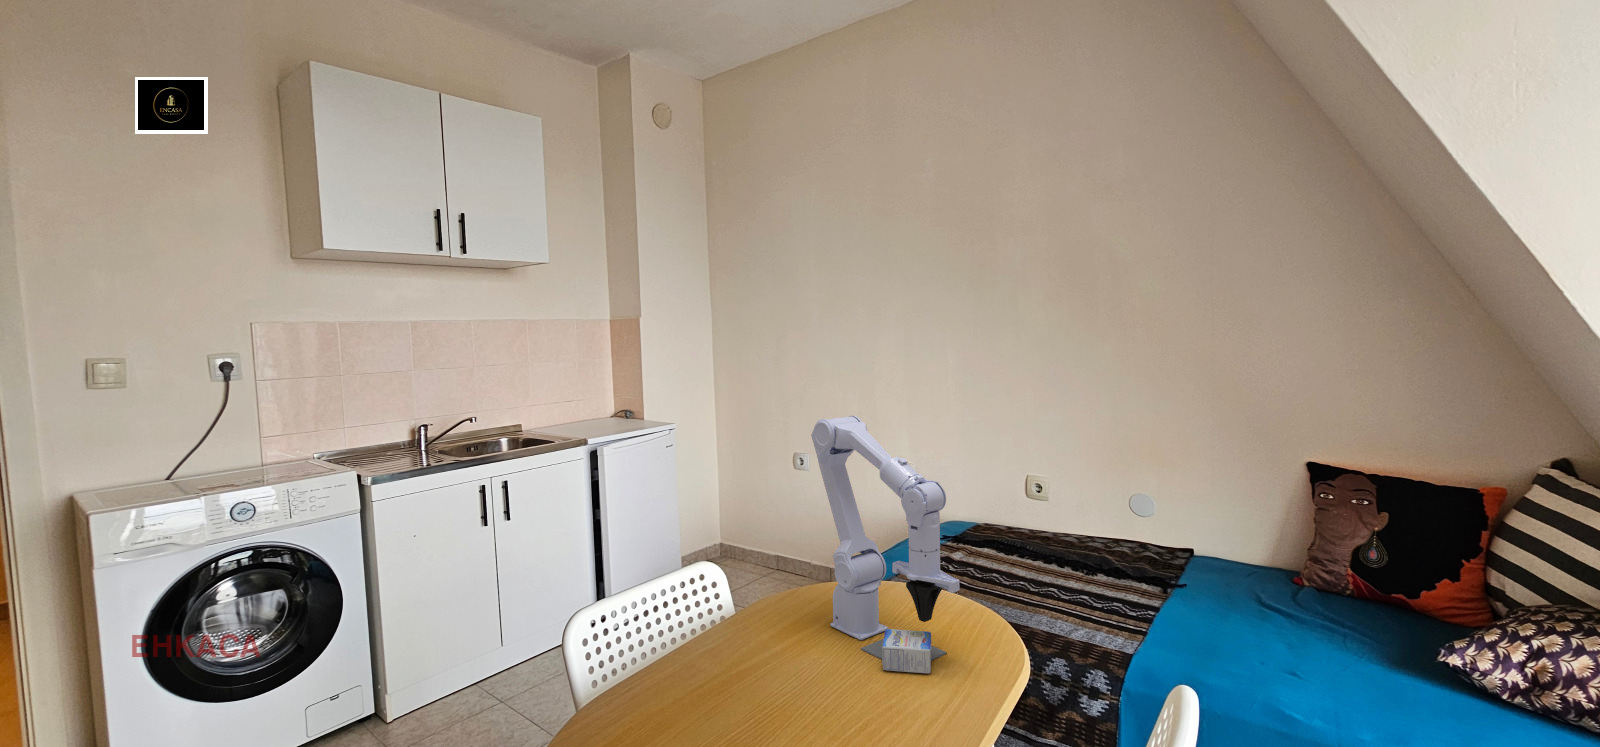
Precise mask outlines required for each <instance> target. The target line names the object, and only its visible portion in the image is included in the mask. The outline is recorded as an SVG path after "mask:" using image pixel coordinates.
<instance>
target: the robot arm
mask: <svg viewBox="0 0 1600 747" xmlns="http://www.w3.org/2000/svg"><path fill="white" fill-rule="evenodd" d="M811 439H812V443H813V446H814V450H815V454H816V458H817V463H818V466H819V469H820V473H821V477H822V482H823V484H824V489H825V493H826V496H827V500H828V503H829V506H830V509H831V513H832V517H833V521H834V524H835V527H836V528H835V529H836V532H837V535H838V538H839V542H840V544H839V545H838V547H837V548H836V550H835V551H834V553H833V555H832V558H833V562H834V578H835V580H836V582H837V585H836V586H835V587H834V590H833V593H832V622H831V623H829V624H830V627H831V628H834V629H836V630H838V631H840V632H842V633H845V635H846V634H847V635H849V636H850V637H853V638H855V639H856V640H860V641H863V640H865V639H868V638H870V637H873V636H875V635H878V634H880V633H883V632H885V630H886V629H889V627H888V626H886V625H884V624H882V623H880V612H879V611H880V608H879V605H880V603H879V601H880V600H879V599H880V598H879V587H880V586H881V583H882V582H881V581H882V580H883V579H884V578H885V576H886V574H887V564H886V561H885V558H884V556H883V555H882V554H881V552H880V550H879V548H878V545H877V542H875V541H874V540H872V539H870V538H869V537H867V535H866V533H865V530H864V526H863V522H862V519H861V516H860V513H859V509H858V504H857V502H856V499H855V495H854V491H853V487H852V484H851V480H850V478H849V474H848V470H847V467H846V462H847V460H848V458H849V457H850V456H851V455H852V454H853V453H854V452H855V451H856V452H857V453H858V454H859V455H860V456H862V457H863V458H864V459H866V460H867V461H868V462H869V463H870V464H871V465H873V466H874V467H875V468H876V469H877V470H879V479H880V481H882V482H883V483H884V484H885V485H886V486H887V487H888V488H889V489H890V490H891V491H892V492H893V493H895V495H897V496H898V497H899V498H900V501H901V502H900V503H901V507H902V509H903V511H904V513H905V518H906V519H905V521H906V522H907V526H908V562H906V561H901V560H897V561H893V562H892V563H891V564H892V571H891V572H892V574H896V575H897V574H900V575H904V576H906V579H908V580H909V581H906V583H905V587H906V589H907V590H908V592H909V594H910V596H911V598H912V601H913V603H914V604H913V605H914V606H915V610H916V614H917V616H918V617H917V618H918V620H919V621H920V622H923V623H925V622H928V621H931V620H932V617H933V613H934V610H935V609H934V608H935V606H936V602H937V600H938V597H939V596H940V594H941V592H942V591H943V589H944V590H947V592H948V593H951V594H954V593H956V592H959V591H960V579H958V578H955V577H953V576H951V575H949V574H948V573H946V572H944V571H943V570H941V533H940V532H941V526H940V525H941V519H940V518H941V515H940V514H941V512H940V511H942V510H943V509H944V508H945V507H946V504H947V494H946V491H945V489H944V487H943V486H942V485H941V484H940V482H939V481H937V480H934V479H930V480H929V479H927V478H925V476H923V475H922V474H920V473H919V472H918V471H916V470H915V469H914V468H913V467H912V466H911V465H909V463H908V462H909V461H908V460H907V459H906V458H905V457H900V456H895V457H894V456H893V457H892V456H891V455H890V453H888V452H887V451H886V450H885V448H883V447H882V445H881V444H880V443H879V442H878V441H877V440H876V439H875V438H874V437H873V436H872V435H871V433H869V432H868V427H867V424H866V423H865V422H863V421H862V420H861V418H859V416H856V415H849V416H844V417H843V416H842V417H835V418H821V419H818V420H817V421H816V423H815V424H814V427H813V430H812V432H811ZM856 553H859V554H856ZM854 554H856V555H854Z"/></svg>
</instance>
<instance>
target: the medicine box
mask: <svg viewBox="0 0 1600 747" xmlns="http://www.w3.org/2000/svg"><path fill="white" fill-rule="evenodd" d="M882 639H883V645H882V660H881V662H882V665H881V666H882V669H883V671H889V672H890V671H893V672H903V673H904V672H906V673H917V674H918V673H919V674H931V670H932V661H931V645H932V633H931V631H925V630H909V629H898V628H897V629H894V628H888V629H886V630H885V631H884V635H883V638H882Z"/></svg>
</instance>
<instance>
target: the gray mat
mask: <svg viewBox="0 0 1600 747" xmlns="http://www.w3.org/2000/svg"><path fill="white" fill-rule="evenodd" d="M883 639H884V638H882V639H879V640H877V641H875V642H872V643H870V644H867V645H865V646H863V647H860V650H861V651H863V652H865V653H867V654H869V655H871V656H873V657H875V658H877V659H879V660H881V661H882V645H883ZM947 653H948V652H947V651H946V650H943V649H941V648H938V647H936V646H934V645H932V644H931V662H932V661H935V660H937V659H939V658H941V657H943V656H945V655H948V654H947Z"/></svg>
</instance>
